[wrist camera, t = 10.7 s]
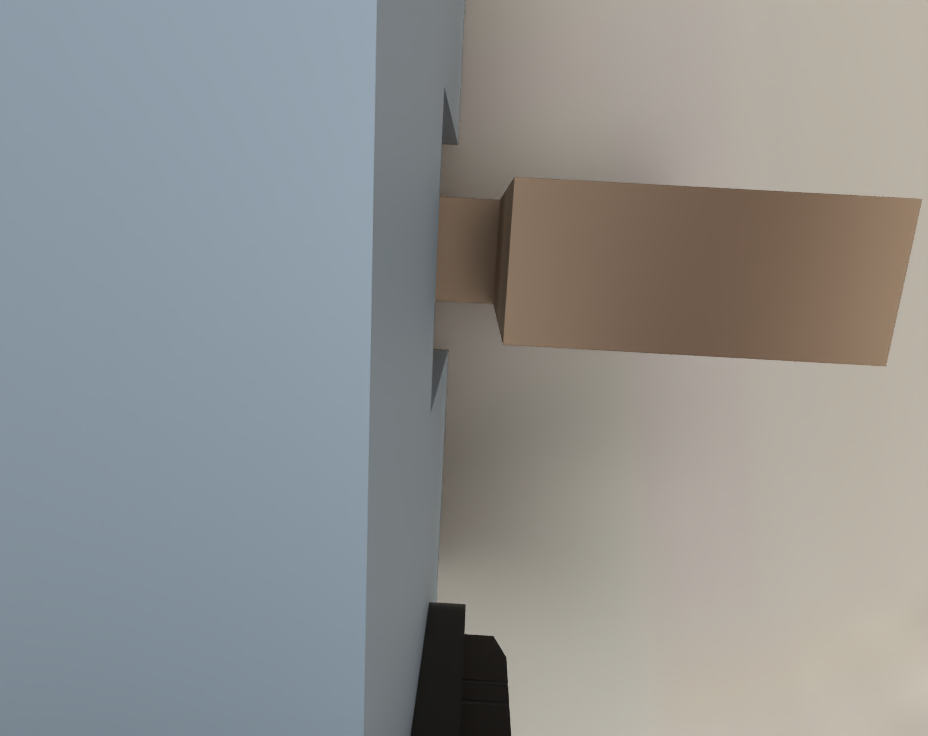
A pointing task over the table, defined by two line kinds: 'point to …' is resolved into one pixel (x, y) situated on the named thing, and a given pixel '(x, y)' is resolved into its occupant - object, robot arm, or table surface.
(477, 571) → the table surface
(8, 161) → the notched plate
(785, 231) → the slotted board
